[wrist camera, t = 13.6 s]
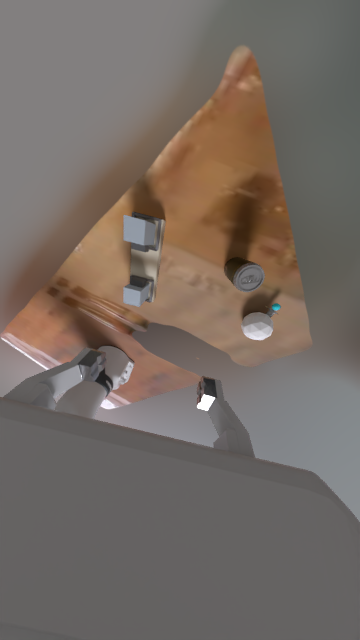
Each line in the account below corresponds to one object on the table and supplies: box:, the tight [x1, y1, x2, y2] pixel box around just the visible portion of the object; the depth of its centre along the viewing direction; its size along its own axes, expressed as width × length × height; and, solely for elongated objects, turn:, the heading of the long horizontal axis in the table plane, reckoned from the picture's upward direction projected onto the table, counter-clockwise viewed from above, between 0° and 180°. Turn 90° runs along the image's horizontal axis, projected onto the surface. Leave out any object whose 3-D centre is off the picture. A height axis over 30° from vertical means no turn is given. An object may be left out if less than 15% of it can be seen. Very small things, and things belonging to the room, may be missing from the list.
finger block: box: [124, 215, 156, 252], centre depth 29 cm, size 6×4×7 cm
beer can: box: [224, 257, 265, 292], centre depth 30 cm, size 5×5×12 cm
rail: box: [130, 212, 166, 302], centre depth 35 cm, size 20×7×3 cm, turn 167°
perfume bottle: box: [241, 303, 281, 340], centre depth 38 cm, size 8×8×12 cm
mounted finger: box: [124, 277, 150, 307], centre depth 35 cm, size 6×4×7 cm
